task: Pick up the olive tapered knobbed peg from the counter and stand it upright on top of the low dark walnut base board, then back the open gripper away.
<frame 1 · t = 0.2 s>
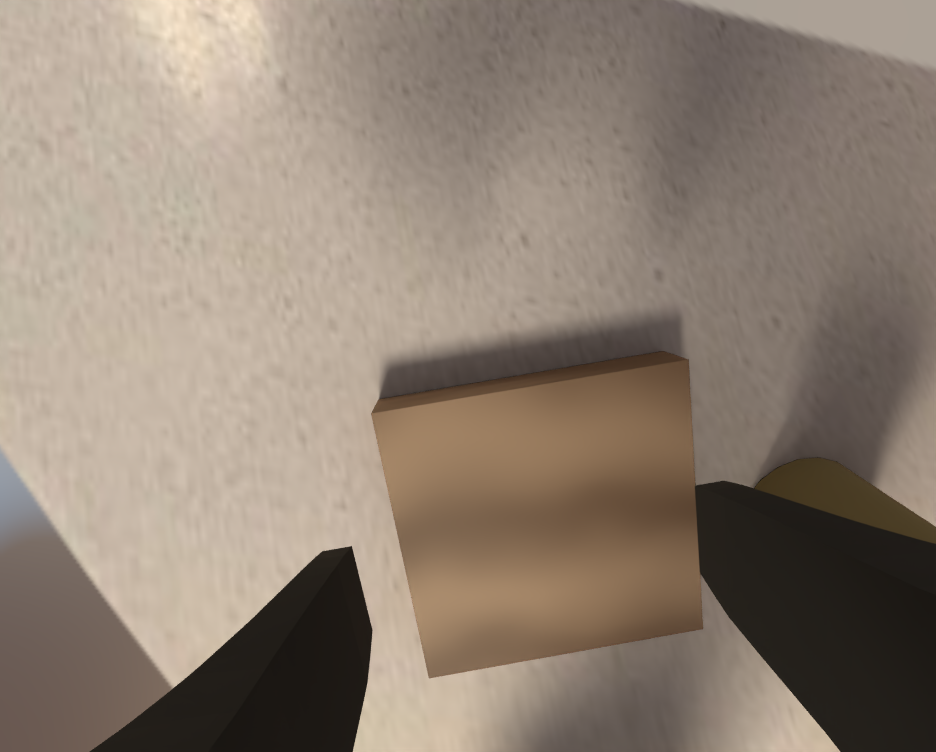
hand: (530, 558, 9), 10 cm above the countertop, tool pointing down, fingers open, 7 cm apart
walnut base: (539, 505, 20), on the countertop
olive tapered knobbed peg: (798, 516, 21), on the countertop
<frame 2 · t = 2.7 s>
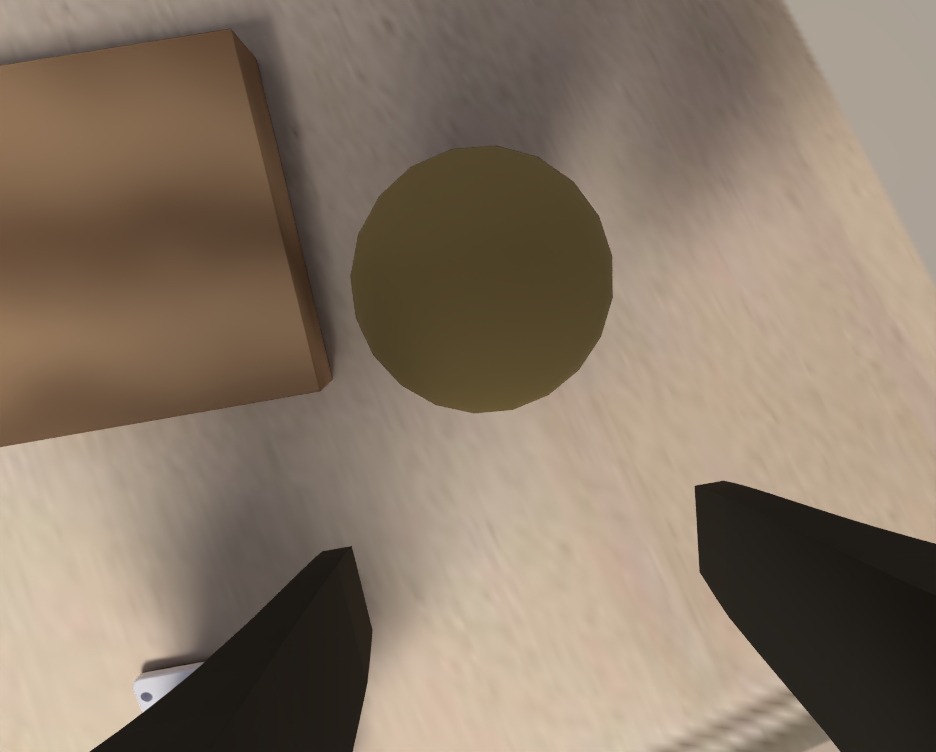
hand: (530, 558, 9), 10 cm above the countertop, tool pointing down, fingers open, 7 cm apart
walnut base: (142, 256, 17), on the countertop
olive tapered knobbed peg: (462, 282, 19), on the countertop
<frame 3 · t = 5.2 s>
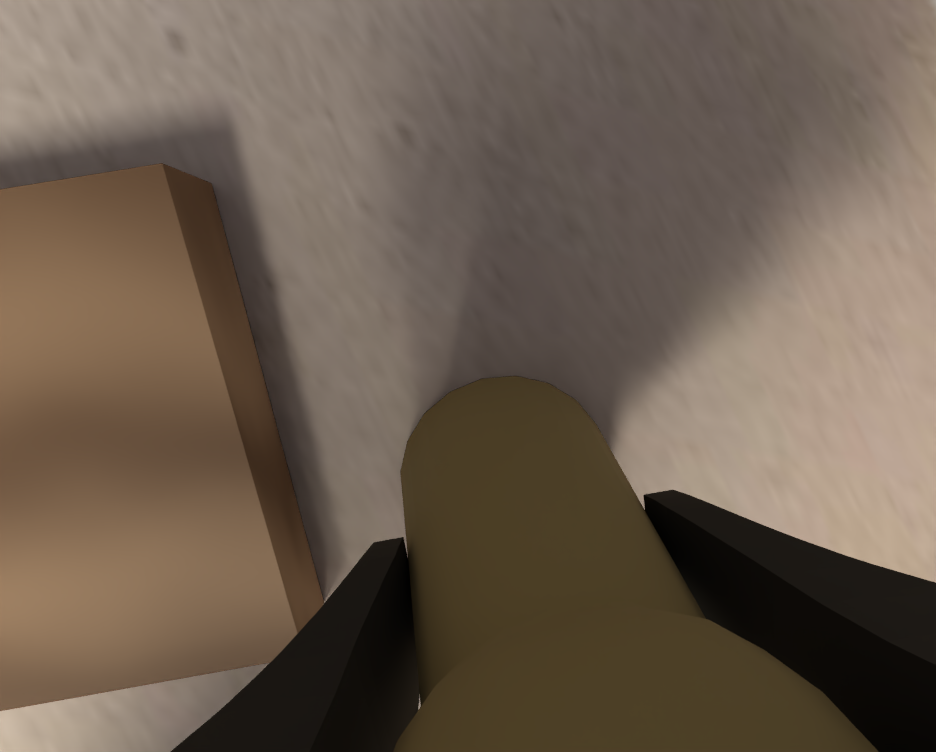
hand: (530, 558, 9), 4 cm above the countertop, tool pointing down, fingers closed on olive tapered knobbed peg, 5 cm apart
walnut base: (54, 452, 12), on the countertop
olive tapered knobbed peg: (504, 474, 13), on the countertop, touching gripper
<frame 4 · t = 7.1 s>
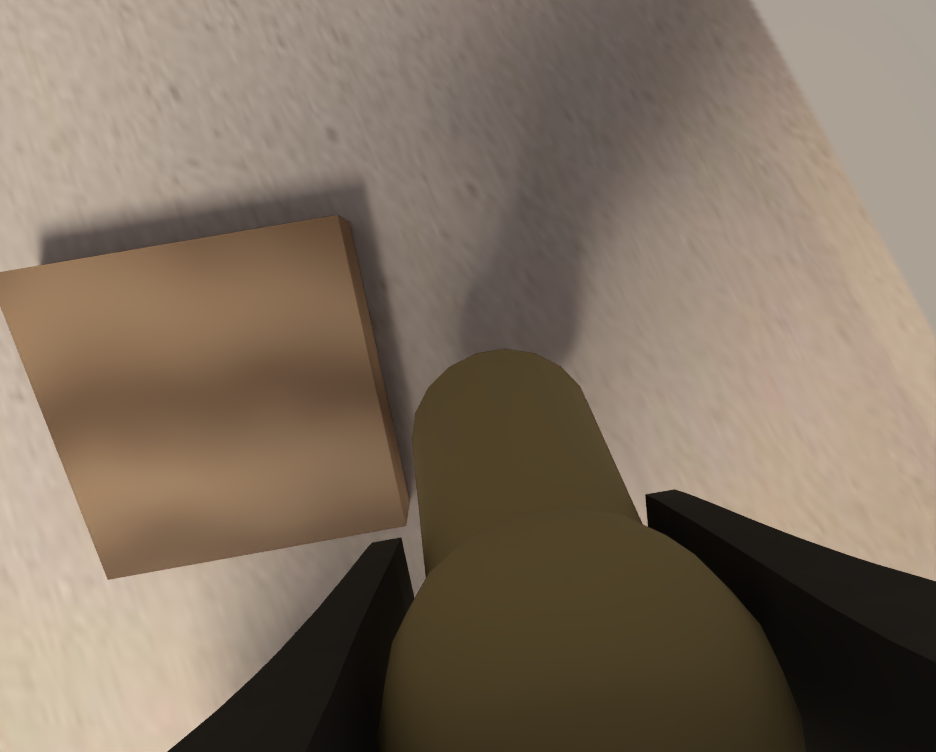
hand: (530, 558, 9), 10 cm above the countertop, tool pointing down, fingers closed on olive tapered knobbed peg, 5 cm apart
walnut base: (238, 396, 19), on the countertop
olive tapered knobbed peg: (502, 436, 15), point 4 cm above the countertop, touching gripper
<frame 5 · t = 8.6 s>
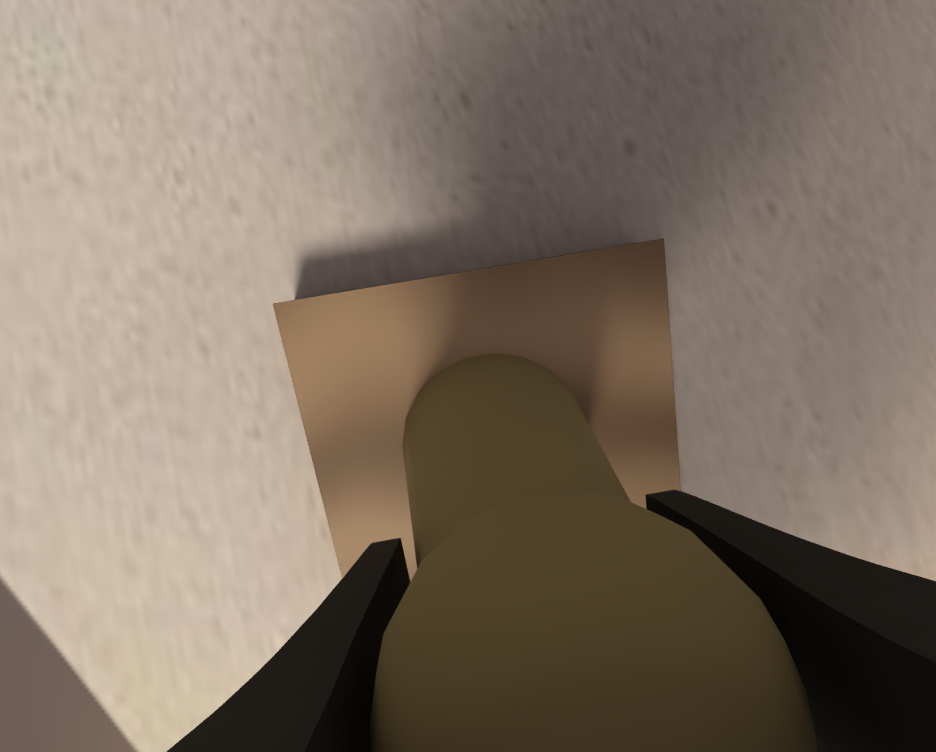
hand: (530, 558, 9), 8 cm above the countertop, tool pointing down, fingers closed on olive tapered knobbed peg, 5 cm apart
walnut base: (492, 434, 17), on the countertop
olive tapered knobbed peg: (494, 441, 15), point 2 cm above the countertop, touching gripper, walnut base
when the fingers open (7 cm above the countertop, at t = 9.3 s): olive tapered knobbed peg stays where it is, resting on walnut base.
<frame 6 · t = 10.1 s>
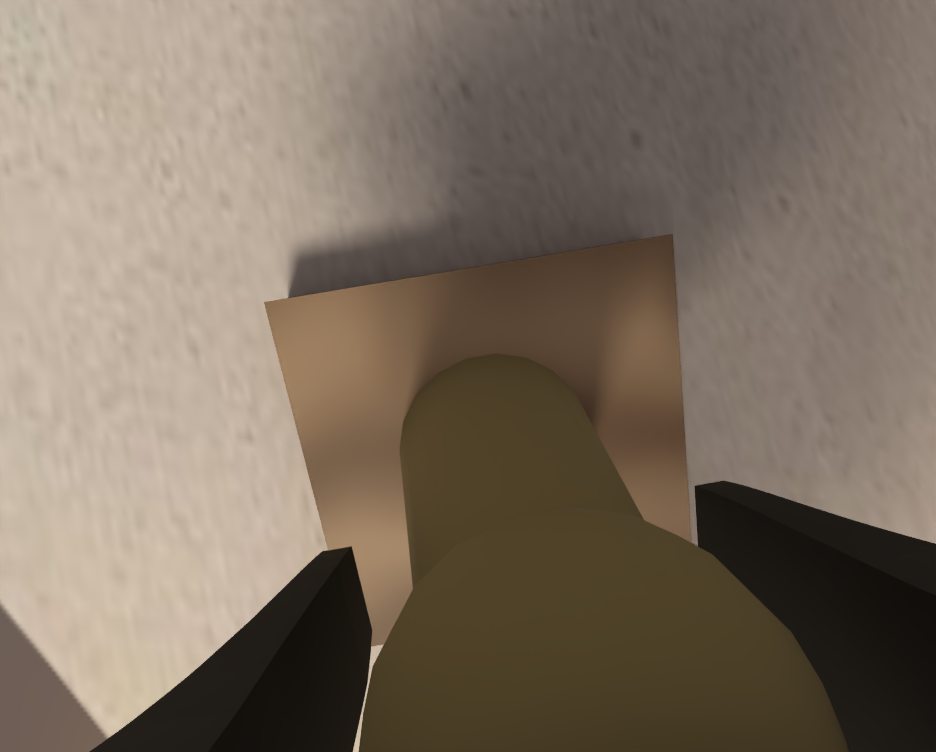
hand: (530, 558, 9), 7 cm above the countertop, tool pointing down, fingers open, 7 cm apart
walnut base: (493, 437, 16), on the countertop
olive tapered knobbed peg: (494, 445, 15), point 2 cm above the countertop, touching walnut base
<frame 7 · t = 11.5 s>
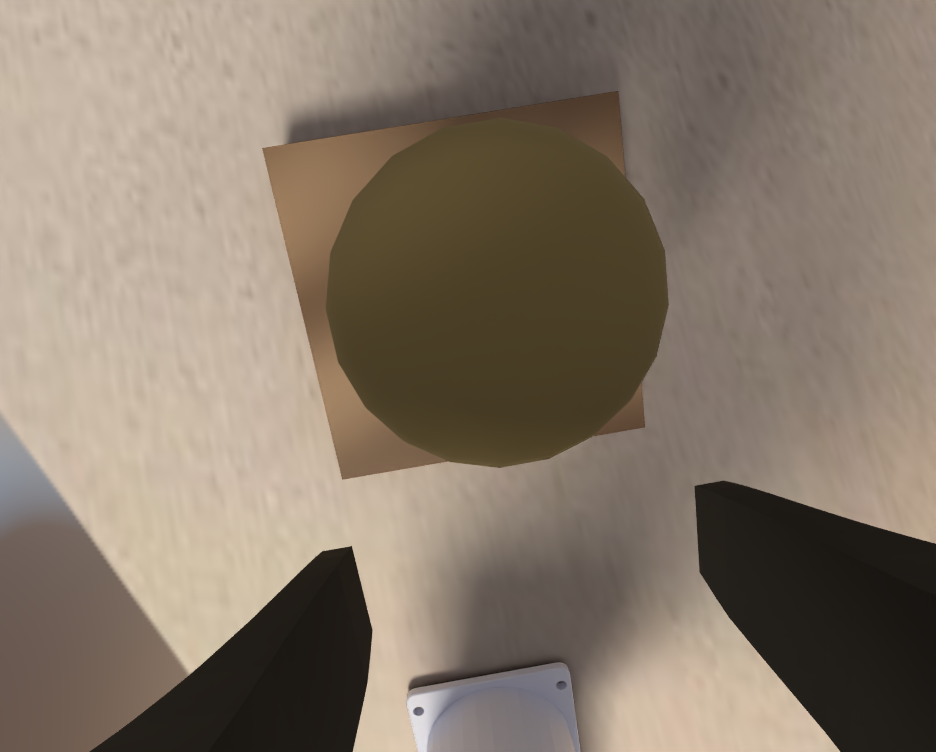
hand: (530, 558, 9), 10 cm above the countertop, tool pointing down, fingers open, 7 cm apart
walnut base: (467, 297, 18), on the countertop
olive tapered knobbed peg: (465, 288, 17), point 2 cm above the countertop, touching walnut base
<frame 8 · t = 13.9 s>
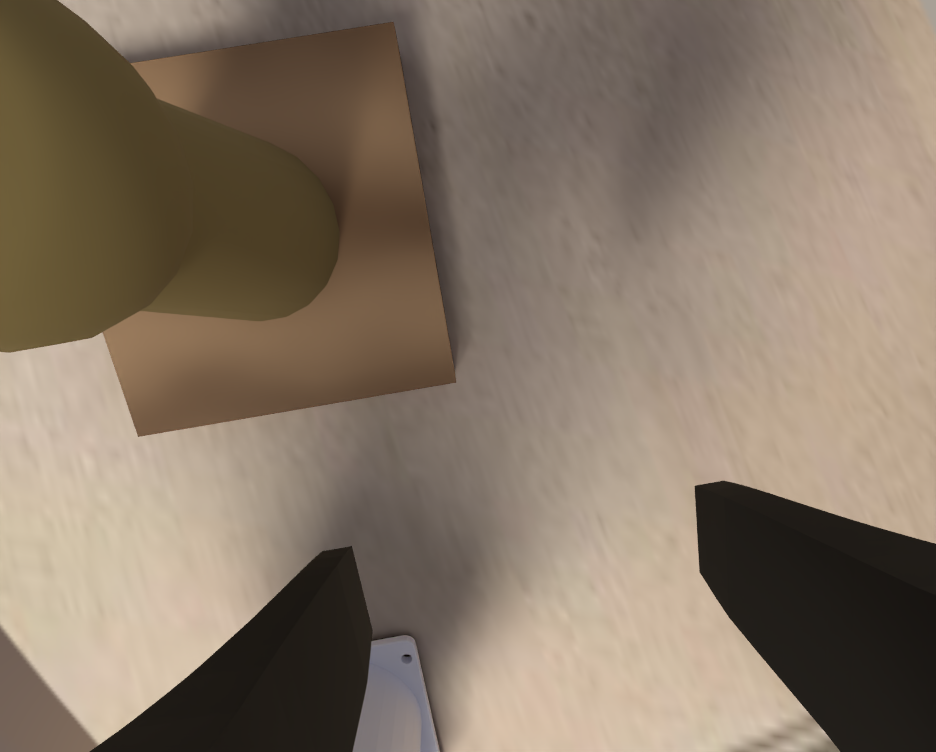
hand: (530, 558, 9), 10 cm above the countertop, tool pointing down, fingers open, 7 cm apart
walnut base: (276, 248, 18), on the countertop
olive tapered knobbed peg: (253, 233, 16), point 2 cm above the countertop, touching walnut base
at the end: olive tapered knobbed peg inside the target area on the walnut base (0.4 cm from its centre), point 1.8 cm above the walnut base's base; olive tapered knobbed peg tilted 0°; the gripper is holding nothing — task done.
